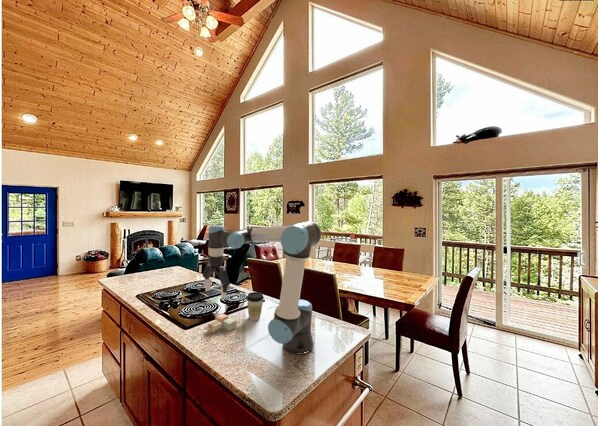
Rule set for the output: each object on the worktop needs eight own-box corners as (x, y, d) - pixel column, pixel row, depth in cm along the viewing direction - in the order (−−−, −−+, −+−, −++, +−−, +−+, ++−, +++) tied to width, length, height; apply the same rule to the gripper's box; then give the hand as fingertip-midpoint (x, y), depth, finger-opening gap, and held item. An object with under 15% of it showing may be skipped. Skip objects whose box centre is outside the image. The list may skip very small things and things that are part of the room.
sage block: (236, 327, 156) (236, 320, 156) (229, 330, 152) (229, 323, 152) (230, 324, 159) (230, 316, 159) (223, 327, 155) (223, 320, 155)
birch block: (221, 330, 153) (221, 322, 152) (213, 333, 149) (213, 326, 148) (216, 326, 156) (216, 319, 155) (208, 330, 152) (208, 323, 151)
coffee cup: (259, 324, 162) (260, 299, 160) (243, 322, 164) (244, 297, 162) (265, 316, 172) (266, 292, 170) (249, 314, 173) (250, 290, 172)
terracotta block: (228, 322, 161) (228, 315, 160) (220, 326, 157) (220, 319, 156) (222, 319, 164) (222, 312, 163) (215, 323, 160) (215, 315, 159)
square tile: (236, 329, 156) (236, 327, 156) (218, 338, 147) (218, 336, 147) (222, 321, 164) (222, 319, 164) (204, 329, 154) (204, 327, 154)
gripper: (237, 258, 143) (236, 299, 146) (208, 249, 158) (207, 285, 161) (225, 261, 137) (224, 303, 140) (195, 251, 153) (195, 289, 155)
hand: (215, 294), depth 151 cm, fingers open, 13 cm apart
